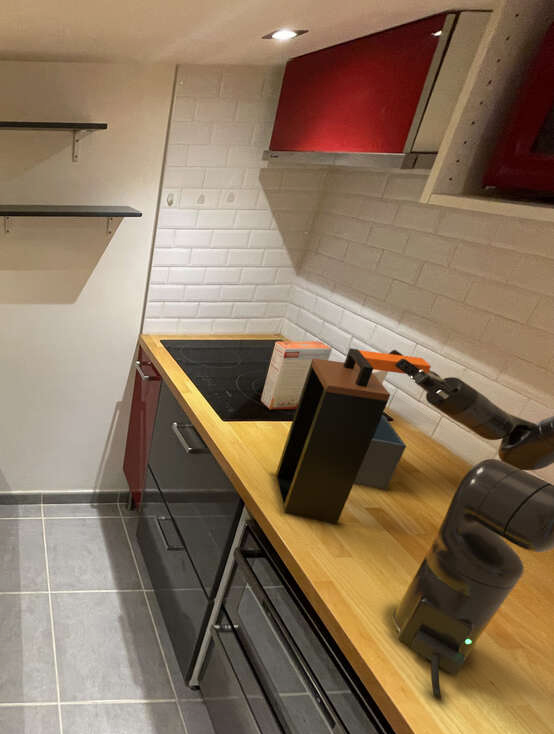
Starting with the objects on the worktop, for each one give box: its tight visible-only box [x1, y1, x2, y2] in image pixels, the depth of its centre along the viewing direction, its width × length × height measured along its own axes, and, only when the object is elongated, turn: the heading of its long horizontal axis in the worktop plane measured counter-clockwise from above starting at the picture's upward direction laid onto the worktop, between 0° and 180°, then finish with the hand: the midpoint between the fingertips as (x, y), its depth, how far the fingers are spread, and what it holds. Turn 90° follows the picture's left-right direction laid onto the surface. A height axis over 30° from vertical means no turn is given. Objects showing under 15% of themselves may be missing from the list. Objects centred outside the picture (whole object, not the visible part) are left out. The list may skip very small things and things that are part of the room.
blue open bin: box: [354, 415, 407, 490], centre depth 110 cm, size 13×13×13 cm
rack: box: [274, 348, 391, 525], centre depth 95 cm, size 10×13×36 cm
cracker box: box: [260, 340, 333, 410], centre depth 136 cm, size 14×6×21 cm, turn 92°
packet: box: [355, 349, 432, 375], centre depth 101 cm, size 14×4×3 cm, turn 70°
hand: (395, 357), depth 100 cm, fingers closed on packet, 4 cm apart
